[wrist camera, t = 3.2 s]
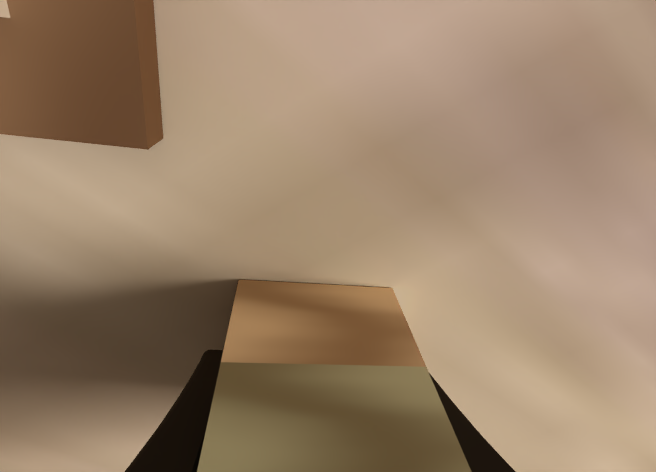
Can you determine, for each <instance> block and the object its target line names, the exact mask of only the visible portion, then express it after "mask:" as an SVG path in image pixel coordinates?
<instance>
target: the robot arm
mask: <svg viewBox="0 0 656 472" xmlns="http://www.w3.org/2000/svg"><path fill="white" fill-rule="evenodd" d="M222 354H223V350H208V351H206V352H205V353H204V354H203V356H202V358H201V360H200V362H199V364H198V366H197V368H196V369H195V371H194V373H193V375H192V376H191V378H190V380H189V381H188V383H187V385H186V386H185V388H184V389H183V391H182V393H181V394H180V396H179V397H178V399H177V400H176V402H175V403H174V405H173V406H172V408H171V409H170V411H169V412H168V414H167V415H166V417H165V418H164V420H163V421H162V422H161V424H160V425H159V427H158V428H157V430H156V431H155V432H154V434H153V435H152V436H151V438H150V439H149V440H148V442H147V443H146V444H145V446H144V447H143V448H142V450H141V451H140V452H139V454H138V455H137V456H136V458H135V459H134V460H133V462H132V463H131V464H130V466H129V467H128V468H127V469H126V471H125V472H197V469H198V465H199V460H200V455H201V451H202V446H203V442H204V437H205V432H206V428H207V423H208V419H209V414H210V410H211V405H212V400H213V396H214V391H215V387H216V382H217V377H218V373H219V368H220V364H221V359H222ZM429 374H430V373H429ZM430 377H431V379H432V381H433V384H434V386H435V388H436V391H437V393H438V395H439V398H440V400H441V402H442V405H443V407H444V409H445V412H446V414H447V416H448V418H449V421H450V423H451V425H452V428H453V430H454V432H455V435H456V437H457V439H458V442H459V444H460V446H461V449H462V451H463V453H464V456H465V458H466V460H467V463H468V465H469V467H470V469H471V472H515V471H514V470H513V469H512V468H511V467H510V466H509V465H508V463H507V462H506V461H505V460H504V459H503V458H502V457H501V456H500V455H499V454H498V453H497V452H496V451H495V450H494V449H493V447H492V446H491V445H490V444H489V443H488V442H487V441H486V440H485V439H484V438H483V437H482V435H481V434H480V433H479V432H478V431H477V430H476V429H475V428H474V426H473V425H472V424H471V423H470V422H469V421H468V419H467V418H466V417H465V416H464V415H463V414H462V412H461V411H460V410H459V409H458V408H457V406H456V405H455V404H454V403H453V402H452V400H451V399H450V398H449V397H448V396H447V394H446V393H445V392H444V391H443V389H442V388H441V387H440V386H439V384H438V383H437V382H436V381H435V380H434V378H433V377H432V376H431V375H430Z"/></svg>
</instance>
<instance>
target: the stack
mask: <svg viewBox="0 0 656 472" xmlns="http://www.w3.org/2000/svg"><path fill="white" fill-rule="evenodd" d="M197 472H471V469H470V467H469V465H468V463H467V460H466V458H465V456H464V453H463V451H462V449H461V446H460V444H459V442H458V439H457V437H456V435H455V432H454V430H453V428H452V425H451V423H450V421H449V418H448V416H447V414H446V412H445V409H444V407H443V405H442V402H441V400H440V398H439V395H438V393H437V391H436V388H435V386H434V384H433V381H432V379H431V377H430V374H429V372H428V370H427V367H426V365H425V363H424V361H423V358H422V356H421V354H420V351H419V349H418V347H417V344H416V342H415V340H414V337H413V335H412V333H411V330H410V328H409V326H408V323H407V321H406V319H405V316H404V314H403V312H402V310H401V307H400V305H399V303H398V300H397V298H396V296H395V293H394V291H393V289H392V288H381V287H364V286H346V285H328V284H310V283H292V282H275V281H257V280H239V281H238V286H237V290H236V295H235V299H234V304H233V309H232V313H231V318H230V322H229V327H228V331H227V336H226V341H225V345H224V350H223V354H222V359H221V364H220V368H219V373H218V377H217V382H216V387H215V391H214V396H213V400H212V405H211V410H210V414H209V419H208V423H207V428H206V432H205V437H204V442H203V446H202V451H201V455H200V460H199V465H198V469H197Z"/></svg>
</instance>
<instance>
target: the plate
mask: <svg viewBox="0 0 656 472" xmlns="http://www.w3.org/2000/svg"><path fill="white" fill-rule="evenodd" d="M0 134H6V135H16V136H25V137H35V138H44V139H54V140H63V141H73V142H82V143H92V144H102V145H111V146H121V147H130V148H140V149H149V148H150V147H152V146H153V145H155V144H156V143H157V142H159V141H160V140H162V139H163V129H162V115H161V101H160V87H159V74H158V60H157V46H156V32H155V19H154V5H153V0H0Z"/></svg>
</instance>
